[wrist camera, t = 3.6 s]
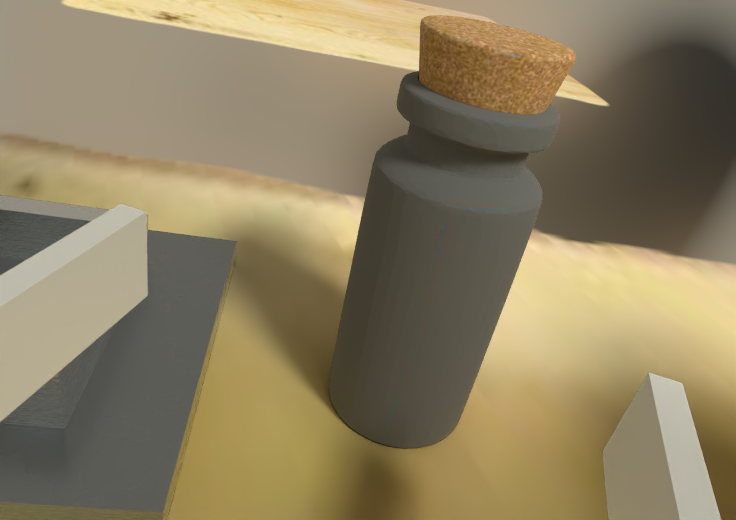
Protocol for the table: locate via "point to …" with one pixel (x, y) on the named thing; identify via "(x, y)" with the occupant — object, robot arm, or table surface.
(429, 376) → the bottle
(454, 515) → the table surface
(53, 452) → the collar plate
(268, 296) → the table surface
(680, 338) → the table surface
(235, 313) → the table surface
